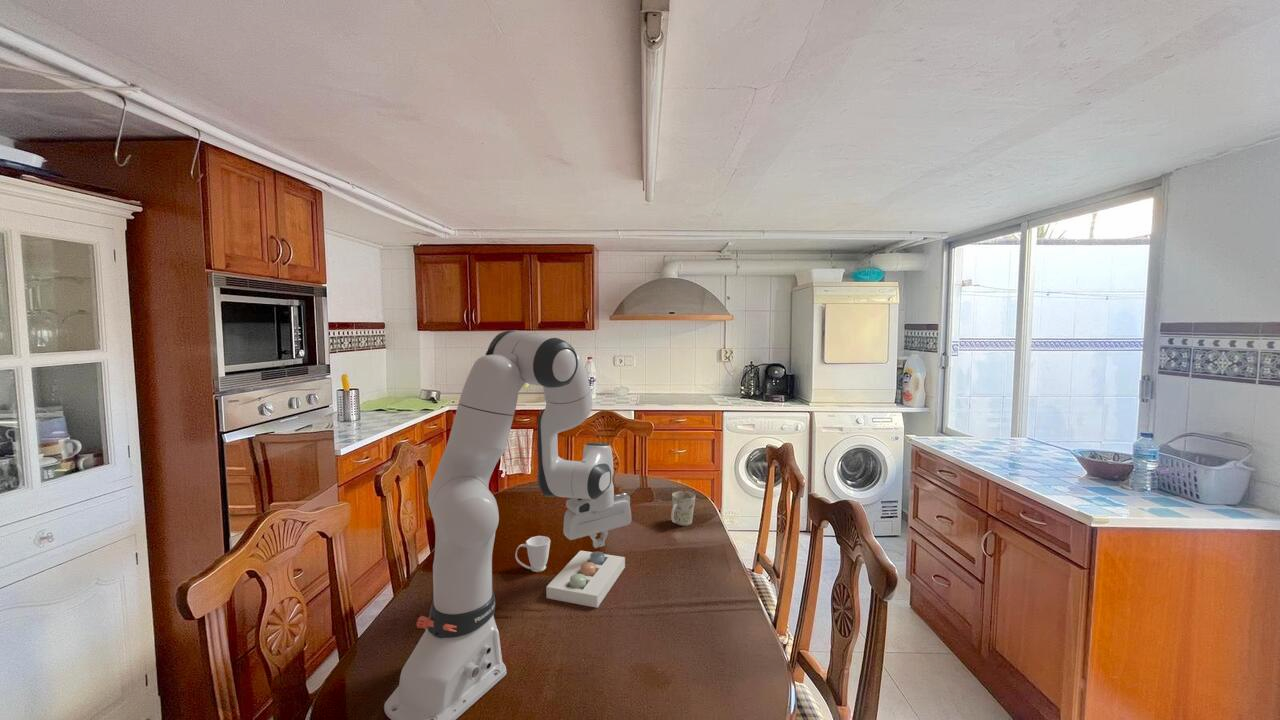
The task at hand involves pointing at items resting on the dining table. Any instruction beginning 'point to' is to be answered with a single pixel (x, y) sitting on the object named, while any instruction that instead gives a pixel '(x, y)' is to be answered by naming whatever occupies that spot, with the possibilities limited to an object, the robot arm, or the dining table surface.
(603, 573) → the button panel
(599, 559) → the slate button
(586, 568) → the terracotta button
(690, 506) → the mug
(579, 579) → the sage button
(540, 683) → the dining table surface
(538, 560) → the cup
